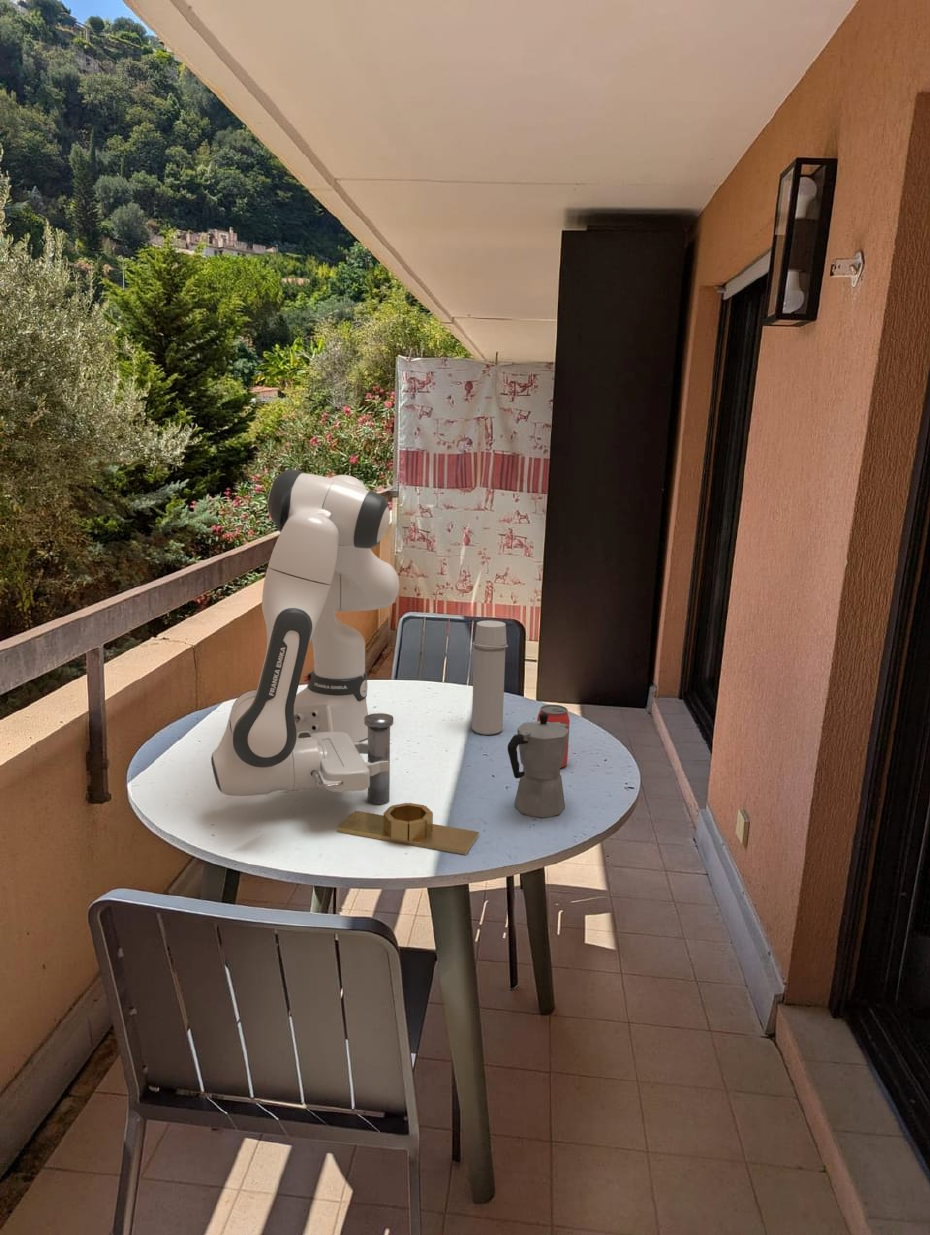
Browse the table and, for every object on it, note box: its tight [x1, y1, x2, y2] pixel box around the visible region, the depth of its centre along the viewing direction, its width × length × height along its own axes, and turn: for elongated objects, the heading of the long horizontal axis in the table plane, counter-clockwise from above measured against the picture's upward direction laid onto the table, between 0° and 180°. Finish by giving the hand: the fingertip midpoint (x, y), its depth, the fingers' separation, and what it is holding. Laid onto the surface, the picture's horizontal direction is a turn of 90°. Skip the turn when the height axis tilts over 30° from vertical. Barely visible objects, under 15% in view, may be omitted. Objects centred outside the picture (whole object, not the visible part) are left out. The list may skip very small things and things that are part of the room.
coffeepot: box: [507, 713, 570, 819], centre depth 156 cm, size 15×9×18 cm, turn 133°
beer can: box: [536, 704, 571, 769], centre depth 178 cm, size 7×7×12 cm
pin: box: [364, 712, 394, 806], centre depth 158 cm, size 5×5×16 cm
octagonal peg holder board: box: [336, 802, 480, 856], centre depth 147 cm, size 23×8×4 cm, turn 72°
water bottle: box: [471, 620, 509, 736], centre depth 196 cm, size 9×8×25 cm
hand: (383, 756), depth 158 cm, fingers open, 7 cm apart
